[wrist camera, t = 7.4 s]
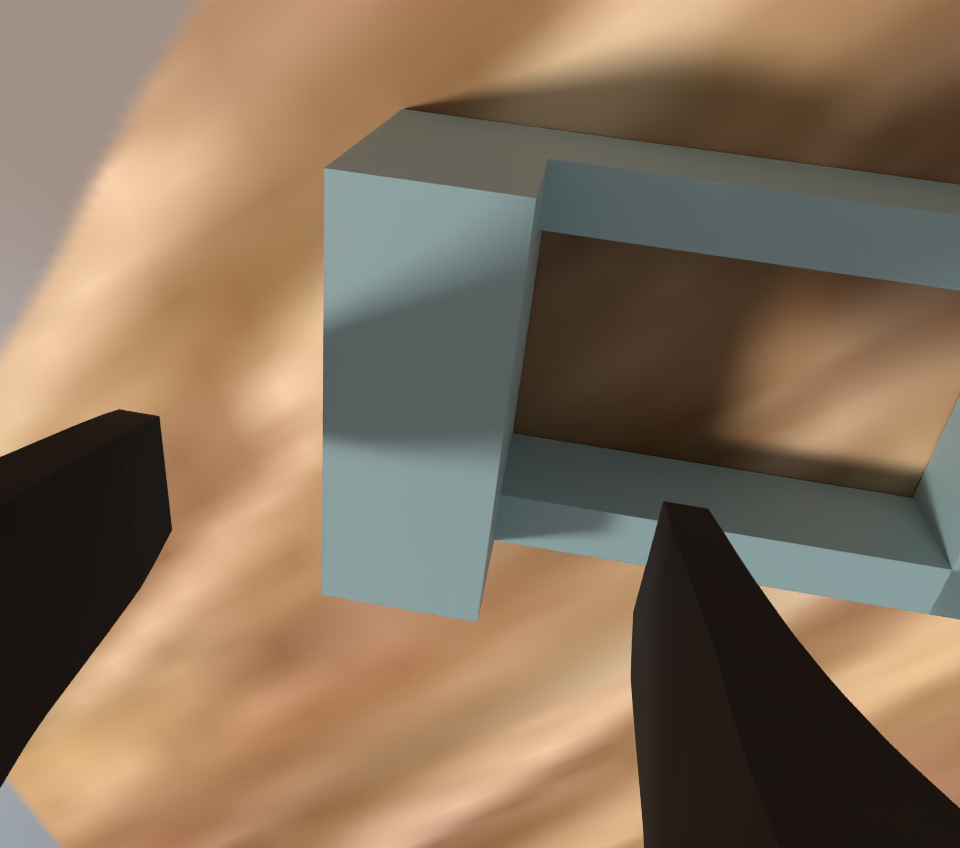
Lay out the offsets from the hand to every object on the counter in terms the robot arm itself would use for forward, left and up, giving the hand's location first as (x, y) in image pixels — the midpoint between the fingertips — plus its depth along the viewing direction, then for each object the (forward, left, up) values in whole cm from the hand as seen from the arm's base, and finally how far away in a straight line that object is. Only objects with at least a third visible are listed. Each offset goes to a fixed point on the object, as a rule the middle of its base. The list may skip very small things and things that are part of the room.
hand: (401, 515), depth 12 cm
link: (-5, 0, -7) cm, 9 cm away
